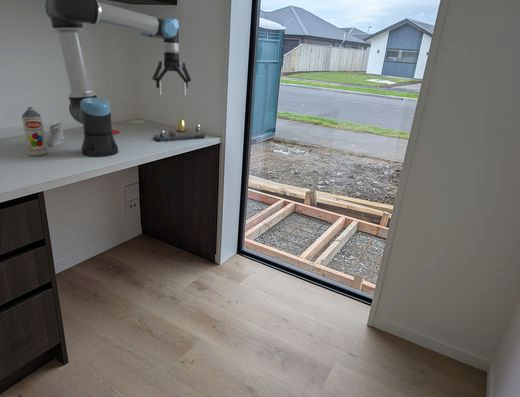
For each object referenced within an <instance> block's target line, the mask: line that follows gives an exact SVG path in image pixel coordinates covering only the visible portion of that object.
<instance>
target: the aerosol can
mask: <svg viewBox="0 0 520 397" xmlns="http://www.w3.org/2000/svg"><path fill="white" fill-rule="evenodd" d="M21 116H22V117H21V119H22V124H23V130H24V135H25V142H26V147H27V152H28V156H29V157H36V158H37V157H43V156H46V155H48V151H47V150H48V149H47V145H46V143H47V142H46V136H45V132H44V126H43V120H42V115H41V114H40V113H39V112H38V111H36V110H35V109H34V108H33V106H28V107H27V110H26V111H25V112H24V113H23V114H21Z"/></svg>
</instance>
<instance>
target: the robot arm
mask: <svg viewBox="0 0 520 397" xmlns="http://www.w3.org/2000/svg"><path fill="white" fill-rule="evenodd" d="M44 9H45V14H46V15H47V16H48V18H49V19H50V22H51V27H52V30H54V32H56V33H57V36H58V39H59V44H60V49H61V53H62V57H63V61H64V65H65V69H66V71H65V72H66V74H67V79H68V82H69V88H70V93H69V94H68V99H69V105H68V111H69V114H70V115H71V117H72V118H73V119H74V120H75V122H78V123H80V124H82V127H83V129H82V130H83V135H84V137H83V141H82V145H81V153H82V155H83V156H88V157H95V158H96V157H107V156H108V157H109V156H113V155H116V154H118V153H119V147H118V144H117V142H116V140H115V138H114V134H112V130H113V125H112V123H113V122H112V112H111V111H112V110H111V105H110V102H109V101H108V100H107V99H103V98H100V97H98V96H97V93H96V92H95V91H93V89H92V83H91V79H90V75H89V70H88V63H87V61H86V54H85V51H84V50H85V49H84V45H83V40H82V36H81V33H82V30H83V29H84V27H83V26H84V25H83V23H84V24H92V25H97V24H101V25H102V24H103V25H108V26H111V27H117V28H121V29H125V30H130V31H133V32H138V33H140V35H141V36H142V37H145V38H154V39H155V38H156V39H163V50H164V52H163V59H164V61H160V60H159V61H158V62H157V67H156V70H155V72H154V74H153V76H152V80H153V81H155V83H156V85H155V86H156V88H157V93H158V95H159V96H161V95H162V94H163V93H162V79H163V77H164V76H165V75H166V74H167V72H176V73H177V74H178V76H179V77H180V78H181V79H182V81H183V82H182V95H183V96H186V95H187V89H188V83H190V82H191V81H192V79H191V76H190V75H189V72H188V70H187V68H186V63H185V62H180V53H179V52H180V32H179V31H180V27H179V26H180V24H179V20H178V19H175V18H172V17H171V18H169V17H168V18H167V17H164V18H159V17H156V16H151V15H148V14H144V13H140V12H137V11H133V10H130V9H126V8H122V7H119V6H115V5H110V4H107V3H102V2H99V1H98V0H45V3H44ZM163 66H164V68H163V70H162V71H161V69H162V67H163ZM180 68H181V69H180ZM181 70H182V71H183V73H182V71H181ZM160 72H161V73H160ZM159 73H160V74H159Z"/></svg>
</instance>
